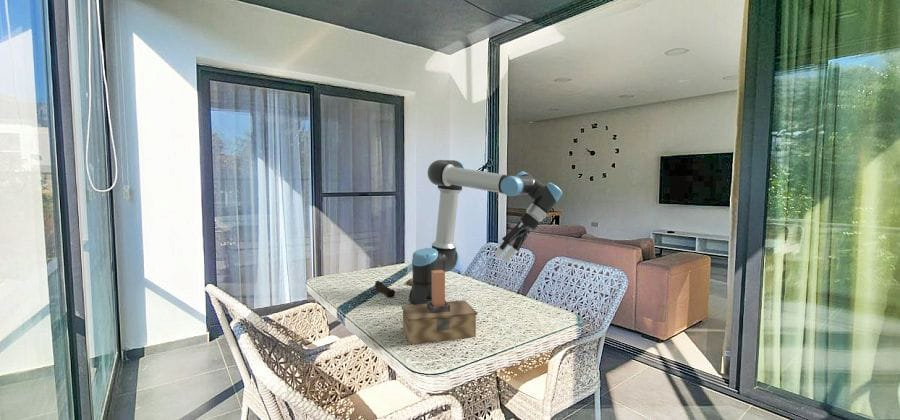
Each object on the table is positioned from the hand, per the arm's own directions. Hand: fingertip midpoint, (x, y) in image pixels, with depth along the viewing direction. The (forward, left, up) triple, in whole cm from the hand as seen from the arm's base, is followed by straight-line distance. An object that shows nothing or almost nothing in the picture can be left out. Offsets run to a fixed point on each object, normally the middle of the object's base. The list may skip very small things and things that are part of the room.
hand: (500, 258), depth 166 cm
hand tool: (-63, +2, -24) cm, 67 cm away
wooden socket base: (-13, -28, -24) cm, 39 cm away
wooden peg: (-13, -28, -15) cm, 34 cm away
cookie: (-58, +24, -24) cm, 67 cm away
